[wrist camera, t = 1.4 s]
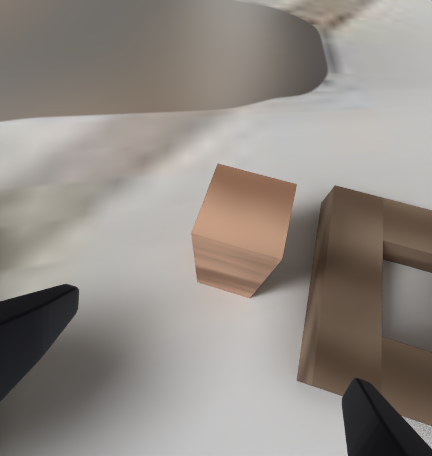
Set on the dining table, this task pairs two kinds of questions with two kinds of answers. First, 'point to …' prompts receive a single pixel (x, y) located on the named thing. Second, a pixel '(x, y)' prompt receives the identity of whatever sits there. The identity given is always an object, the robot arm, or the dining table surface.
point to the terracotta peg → (241, 229)
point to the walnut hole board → (365, 300)
